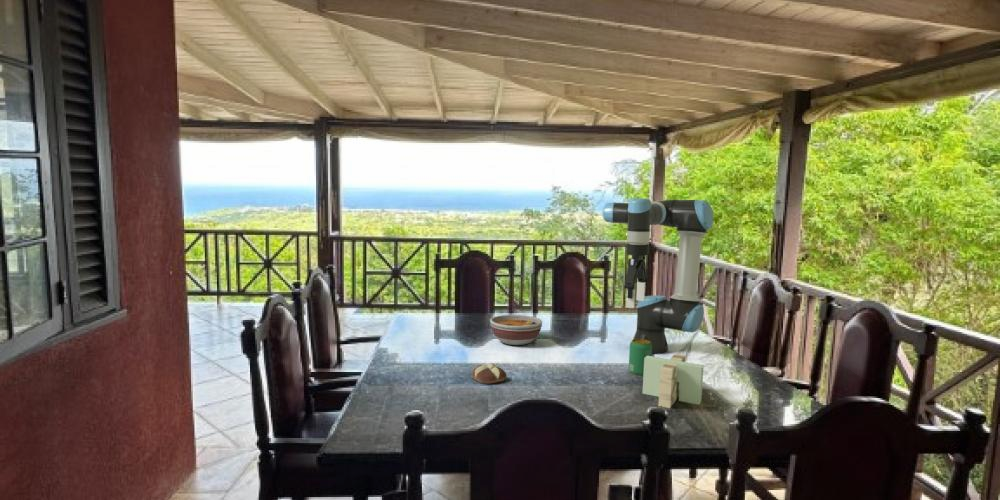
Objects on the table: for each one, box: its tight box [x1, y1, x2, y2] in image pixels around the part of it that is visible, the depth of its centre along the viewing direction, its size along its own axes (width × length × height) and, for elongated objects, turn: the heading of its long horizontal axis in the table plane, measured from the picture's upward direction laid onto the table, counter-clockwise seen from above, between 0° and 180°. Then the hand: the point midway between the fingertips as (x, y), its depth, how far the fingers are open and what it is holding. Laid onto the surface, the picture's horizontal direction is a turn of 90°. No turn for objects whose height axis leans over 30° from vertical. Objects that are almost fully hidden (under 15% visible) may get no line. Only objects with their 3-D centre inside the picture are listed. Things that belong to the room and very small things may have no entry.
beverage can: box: [628, 338, 653, 377], centre depth 202 cm, size 8×8×12 cm
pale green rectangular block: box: [642, 355, 704, 406], centre depth 178 cm, size 18×4×12 cm, turn 60°
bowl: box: [489, 314, 543, 346], centre depth 241 cm, size 23×23×10 cm
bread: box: [471, 363, 507, 385], centre depth 191 cm, size 11×11×5 cm
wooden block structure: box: [658, 353, 687, 409], centre depth 178 cm, size 20×4×12 cm, turn 150°
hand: (635, 303), depth 191 cm, fingers open, 13 cm apart
